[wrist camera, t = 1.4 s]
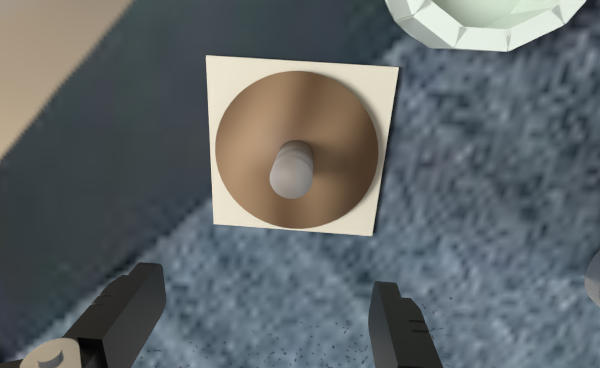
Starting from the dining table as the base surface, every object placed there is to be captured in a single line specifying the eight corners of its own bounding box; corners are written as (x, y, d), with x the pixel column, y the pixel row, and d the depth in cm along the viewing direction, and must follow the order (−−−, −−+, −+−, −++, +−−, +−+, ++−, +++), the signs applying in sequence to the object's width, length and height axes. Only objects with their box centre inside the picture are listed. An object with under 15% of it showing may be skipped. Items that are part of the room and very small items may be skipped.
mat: (397, 67, 27) (398, 67, 26) (371, 232, 32) (372, 236, 32) (208, 55, 27) (206, 55, 26) (215, 220, 33) (213, 223, 32)
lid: (388, 76, 26) (406, 84, 21) (365, 229, 31) (375, 268, 26) (215, 65, 27) (187, 70, 21) (220, 217, 32) (199, 254, 26)
